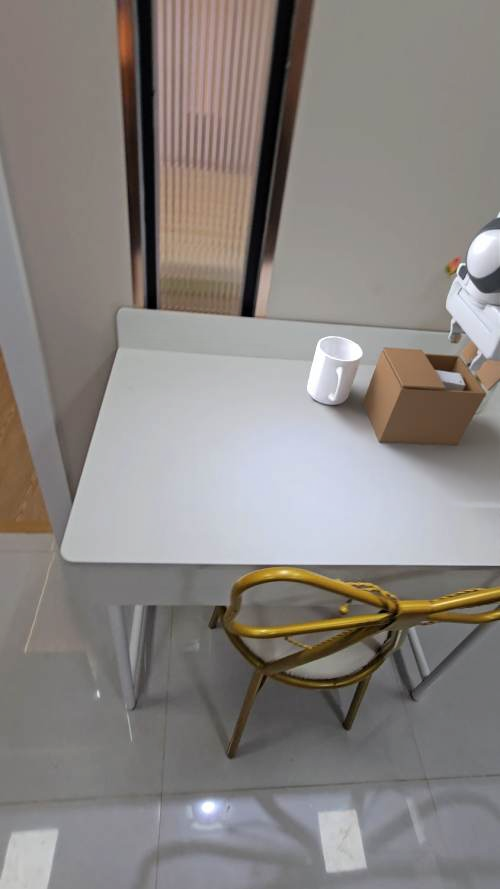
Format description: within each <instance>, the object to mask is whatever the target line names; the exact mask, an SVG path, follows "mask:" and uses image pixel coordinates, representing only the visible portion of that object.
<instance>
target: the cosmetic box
mask: <svg viewBox="0 0 500 889" xmlns="http://www.w3.org/2000/svg"><path fill="white" fill-rule="evenodd" d="M435 371H436V373H437V374H438V376H439V378H440V379H441V381H442V382H443V384H444V386H445V387H446V388H445V389H437V390H456V391H463V389H464V387H465V383H464V381H463V378H462V376H461V374H460V373H452V372H446V371H439V370H435ZM424 389H430V388H424Z"/></svg>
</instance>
